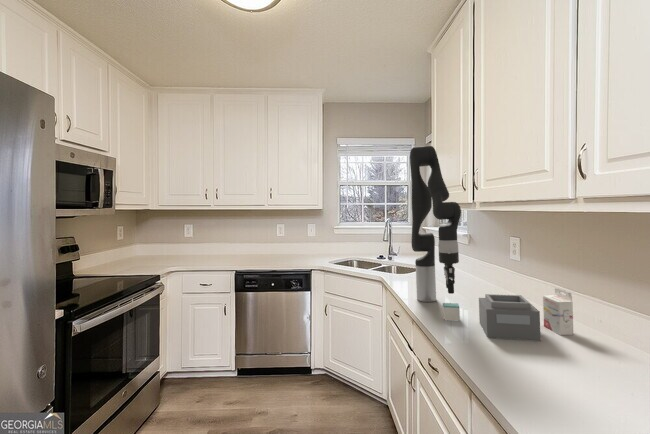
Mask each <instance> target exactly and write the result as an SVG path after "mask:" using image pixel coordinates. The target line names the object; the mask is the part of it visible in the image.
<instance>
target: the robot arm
mask: <svg viewBox="0 0 650 434" xmlns="http://www.w3.org/2000/svg"><path fill="white" fill-rule="evenodd" d="M409 164H410V167H409V168H410V176H411V218H412V223H411V248H412V251H413V252H419V253H420V252H421V253H422V252H423V253H424V252H426V253H425V255H423V256H420V257H418V258H416V259H415V285H416V300H417V301H419V302H423V303H424V302H425V303H432V302H435V301H437V285H436V283H437V281H436V279H437V278H436V256H435V253H436V252H435V251H436V249H435V248H436V247H435V246H436V245H435V244H436V239H435V235H434V234H433V233H432V232H420V229H421V226H422V223H423V222H424V221H425V219H426V218H427V216H428V215H429V214H430V211H431V209H432V214H433V216H434V218H435V219H437V220H441V221H442V220H448V221H447V223H446V224H444V225H443V224H442V225H440V226H439V227H438V261H439V263H440V264H443V265H444V266H443V273H444V278H445V287H446V289H447V293H448V294H452V295H453V294H455V283H456V281H455V280H456V279H455V278H456V274H455V272H456V270H455V269H456V268H455V266H454V265H455V264H458V263H460V258H459V256H460V255H459V242H458V227H459V222H460V218H461V214H462V209H461V206H460V204H459V203H458V202H455V201H447V200H448V199H449V198H450V192H449V189H448V188H447V185H446V183H445V181H444V178H443V175H442V170H441V166H440V165H441V164H440V163H439V158H438V154H437V150H436V149H435V147H434V146H432V145H421V146H414V147H412V148H411V149H410V152H409ZM428 166H429V167H430V171H431V172H430V174H429V176H428V180H427V183H426V182H425V180H424V179H423V177H422V175H421V168H420V167H428ZM446 201H447V202H446Z"/></svg>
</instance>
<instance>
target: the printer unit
mask: <svg viewBox="0 0 650 434" xmlns="http://www.w3.org/2000/svg"><path fill="white" fill-rule="evenodd" d="M484 296H485V297H478V311H479V312H478V313H479V314H478V315H479V317H478V320H479V325H480V327H481V328H483V329H482V330H483V332H484V334H485V336H486V338H487V337H489V339H498V338H499V339H502V340H515V341H517V340H518V341H531V342H542V339H541V312H540V310H539V309H538V308H537V307H535V306H534V305H533V304H532V303H530V302H529V301H528V300H527V299H526V298H525V297H524V296H522V295H519V294H493V293H490V294H487V293H485V295H484Z"/></svg>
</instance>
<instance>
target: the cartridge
mask: <svg viewBox="0 0 650 434" xmlns="http://www.w3.org/2000/svg"><path fill="white" fill-rule="evenodd" d="M460 312H461V311H460V304H459V303H457V302H456V303H455V302H454V303H453V302H452V303H451V302H442V317H443V320H444V319H446V320H445V321H447V320H460V321H461V315H460Z"/></svg>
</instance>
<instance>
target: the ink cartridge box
mask: <svg viewBox="0 0 650 434" xmlns="http://www.w3.org/2000/svg"><path fill="white" fill-rule="evenodd" d="M554 293H555V294H549V295H548V294H547V295H546V294H545V295H542V301H543V304H542V306H543V307H542V309H543V310H542V311H543V327H545V328H547V329H549V330H550V331H551V332H553V333H556V334H557V335H559V336H569V335H570V336H572V335H574V314H573V313H574V312H573V311H574V310H573V307H574V306H573V298H572V297H573V296H572V292H570V291H567V290H564V289H562V288H560V287H554Z"/></svg>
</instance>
